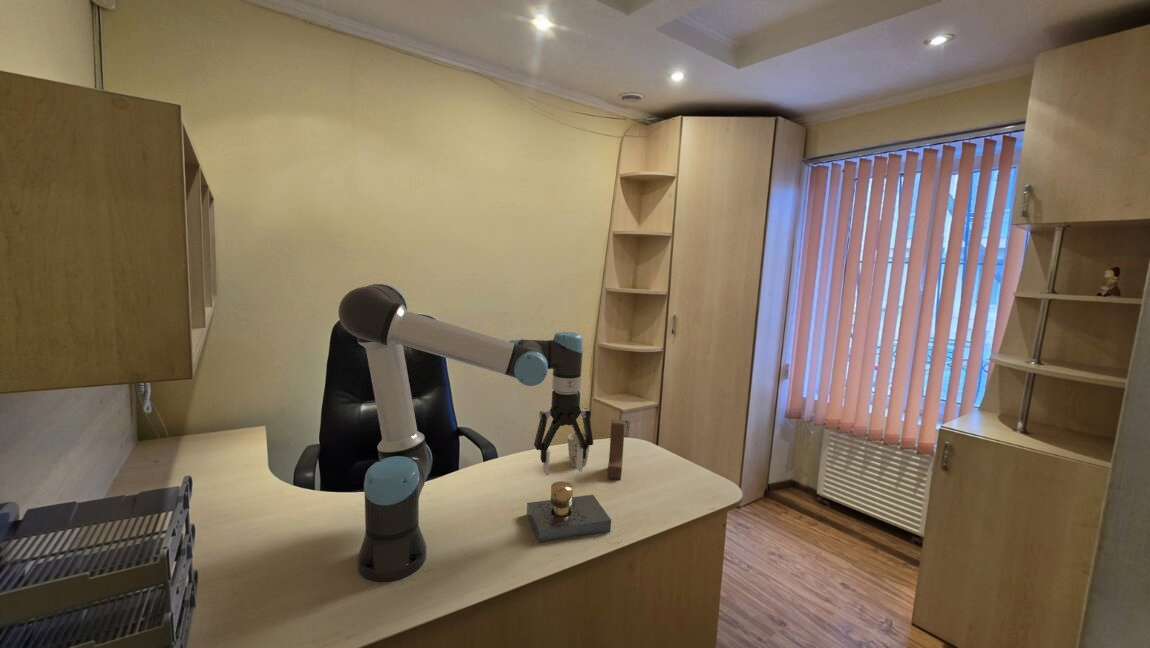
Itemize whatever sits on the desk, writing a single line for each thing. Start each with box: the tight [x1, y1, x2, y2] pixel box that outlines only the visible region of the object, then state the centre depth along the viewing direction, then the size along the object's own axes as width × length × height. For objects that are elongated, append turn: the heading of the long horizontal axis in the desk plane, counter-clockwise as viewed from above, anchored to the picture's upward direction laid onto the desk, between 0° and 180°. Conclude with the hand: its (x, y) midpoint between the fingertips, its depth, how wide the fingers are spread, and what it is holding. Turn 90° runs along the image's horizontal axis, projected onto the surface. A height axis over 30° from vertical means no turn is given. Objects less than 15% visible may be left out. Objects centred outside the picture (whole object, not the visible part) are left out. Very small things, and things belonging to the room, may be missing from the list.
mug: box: [567, 432, 591, 468], centre depth 169 cm, size 8×13×10 cm, turn 171°
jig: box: [526, 494, 612, 544], centre depth 130 cm, size 20×14×4 cm
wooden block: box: [607, 418, 626, 480], centre depth 160 cm, size 9×4×18 cm, turn 172°
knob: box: [550, 480, 574, 518], centre depth 128 cm, size 6×6×11 cm
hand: (562, 471), depth 127 cm, fingers open, 9 cm apart
